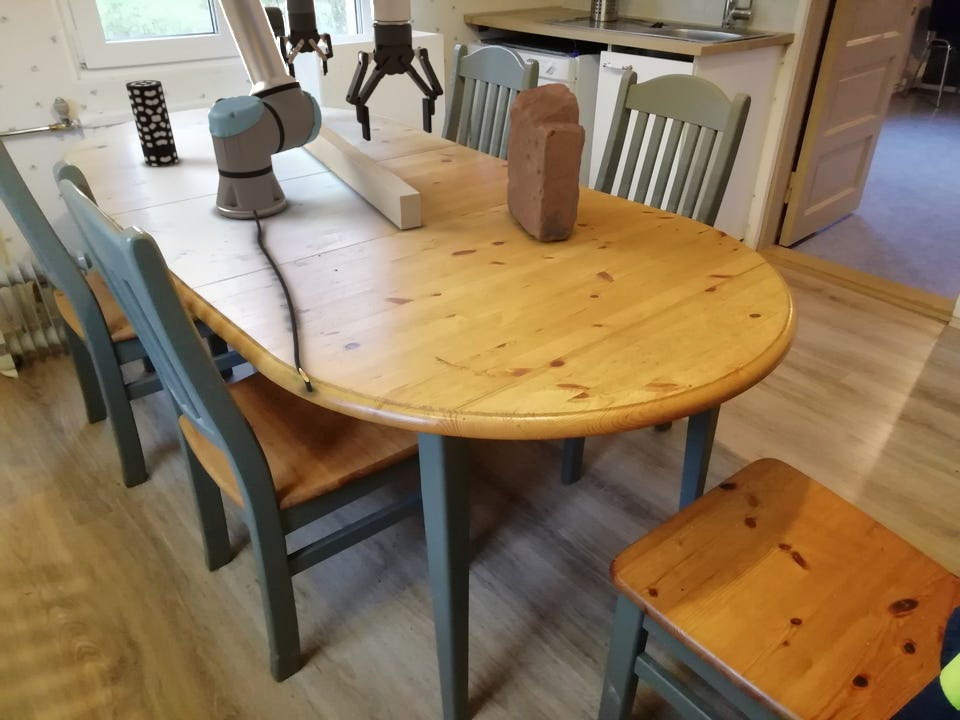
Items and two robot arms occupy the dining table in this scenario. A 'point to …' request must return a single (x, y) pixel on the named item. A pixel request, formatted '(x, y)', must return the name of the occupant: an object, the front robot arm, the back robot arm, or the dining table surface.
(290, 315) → the front robot arm
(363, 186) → the bar
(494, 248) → the dining table surface
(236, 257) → the dining table surface
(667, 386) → the dining table surface
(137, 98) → the polka dot cylinder
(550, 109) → the stone
